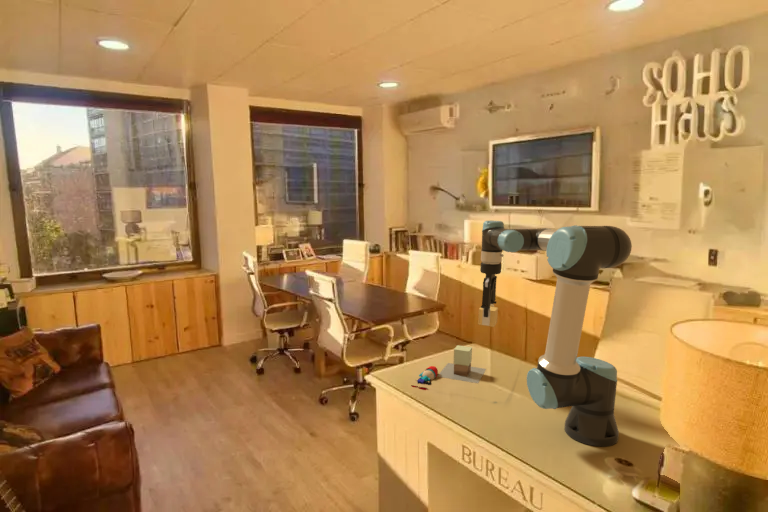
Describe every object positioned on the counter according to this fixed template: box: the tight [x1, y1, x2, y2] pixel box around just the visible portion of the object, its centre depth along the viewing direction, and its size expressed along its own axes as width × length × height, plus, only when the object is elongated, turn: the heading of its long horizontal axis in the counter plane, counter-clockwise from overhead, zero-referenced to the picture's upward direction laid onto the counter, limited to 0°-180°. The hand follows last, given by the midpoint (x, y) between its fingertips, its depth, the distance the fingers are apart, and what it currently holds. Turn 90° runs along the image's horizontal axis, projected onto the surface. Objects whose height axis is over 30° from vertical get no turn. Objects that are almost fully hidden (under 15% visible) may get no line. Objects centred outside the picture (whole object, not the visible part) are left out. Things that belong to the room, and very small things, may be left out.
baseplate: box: [436, 362, 487, 384], centre depth 191 cm, size 16×16×1 cm
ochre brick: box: [477, 306, 499, 328], centre depth 181 cm, size 6×6×6 cm
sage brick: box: [452, 344, 473, 366], centre depth 190 cm, size 5×6×6 cm
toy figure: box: [410, 365, 439, 391], centre depth 184 cm, size 8×5×15 cm
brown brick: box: [454, 362, 472, 376], centre depth 191 cm, size 6×5×4 cm
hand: (487, 322), depth 181 cm, fingers closed on ochre brick, 6 cm apart
